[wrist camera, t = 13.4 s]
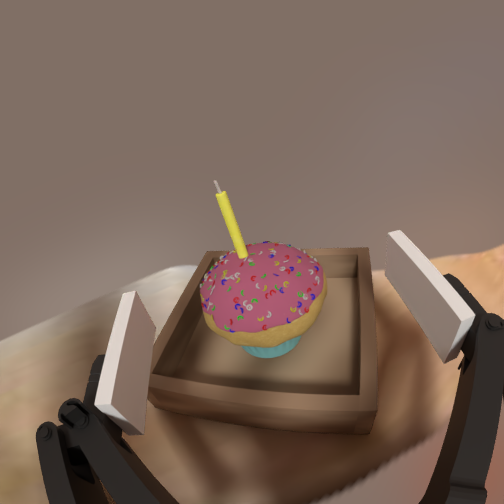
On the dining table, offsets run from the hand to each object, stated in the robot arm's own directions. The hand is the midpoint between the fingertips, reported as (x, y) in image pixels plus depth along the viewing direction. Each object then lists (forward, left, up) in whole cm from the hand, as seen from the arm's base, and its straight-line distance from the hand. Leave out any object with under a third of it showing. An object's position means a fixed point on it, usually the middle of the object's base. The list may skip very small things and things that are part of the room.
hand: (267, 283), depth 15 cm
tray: (-2, +4, -9) cm, 10 cm away
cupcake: (-2, +4, -8) cm, 9 cm away
